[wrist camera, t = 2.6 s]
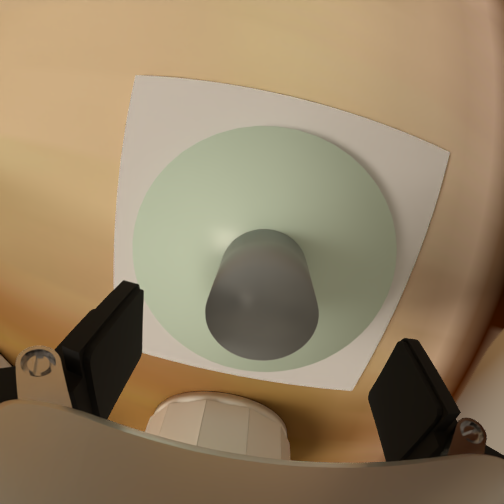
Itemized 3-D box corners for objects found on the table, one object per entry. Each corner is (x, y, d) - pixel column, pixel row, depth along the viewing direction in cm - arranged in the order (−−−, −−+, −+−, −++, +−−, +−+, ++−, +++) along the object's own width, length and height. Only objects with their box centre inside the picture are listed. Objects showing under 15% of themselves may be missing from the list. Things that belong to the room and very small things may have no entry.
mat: (139, 76, 12) (135, 75, 12) (445, 151, 13) (449, 152, 12) (118, 340, 18) (116, 344, 18) (350, 385, 19) (351, 390, 18)
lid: (157, 106, 13) (105, 97, 8) (420, 169, 13) (479, 189, 8) (136, 333, 17) (104, 389, 13) (340, 373, 18) (354, 435, 13)
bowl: (153, 375, 19) (125, 441, 14) (305, 405, 20) (311, 474, 14) (155, 447, 23) (139, 497, 18) (268, 469, 24) (266, 521, 18)
